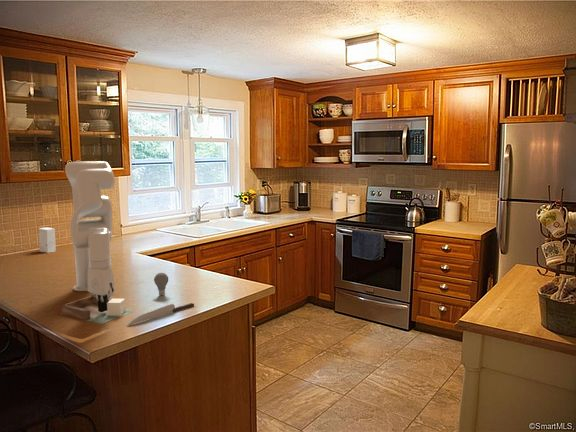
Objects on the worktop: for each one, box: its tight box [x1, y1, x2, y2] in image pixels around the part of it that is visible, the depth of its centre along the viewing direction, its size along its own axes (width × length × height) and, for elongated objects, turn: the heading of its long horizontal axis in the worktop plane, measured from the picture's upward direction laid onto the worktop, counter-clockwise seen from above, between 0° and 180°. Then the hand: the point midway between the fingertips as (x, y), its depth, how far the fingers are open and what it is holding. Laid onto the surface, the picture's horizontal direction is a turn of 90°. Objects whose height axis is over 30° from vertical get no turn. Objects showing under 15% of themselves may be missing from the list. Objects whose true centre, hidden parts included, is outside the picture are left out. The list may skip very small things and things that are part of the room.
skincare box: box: [38, 227, 57, 254], centre depth 295 cm, size 8×6×15 cm
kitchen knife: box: [125, 302, 195, 328], centre depth 180 cm, size 4×1×30 cm
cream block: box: [107, 297, 127, 317], centre depth 180 cm, size 5×5×5 cm
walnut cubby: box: [60, 294, 135, 325], centre depth 182 cm, size 16×23×4 cm
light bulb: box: [153, 272, 169, 296], centre depth 205 cm, size 6×6×10 cm
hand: (103, 310), depth 180 cm, fingers closed
